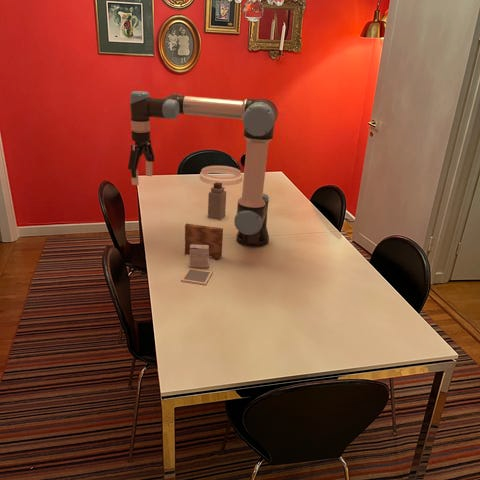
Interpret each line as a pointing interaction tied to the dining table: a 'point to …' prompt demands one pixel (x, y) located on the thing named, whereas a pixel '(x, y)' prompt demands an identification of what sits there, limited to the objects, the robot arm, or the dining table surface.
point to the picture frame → (196, 276)
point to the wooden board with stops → (204, 239)
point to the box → (199, 256)
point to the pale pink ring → (223, 180)
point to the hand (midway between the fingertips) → (142, 180)
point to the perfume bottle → (217, 202)
